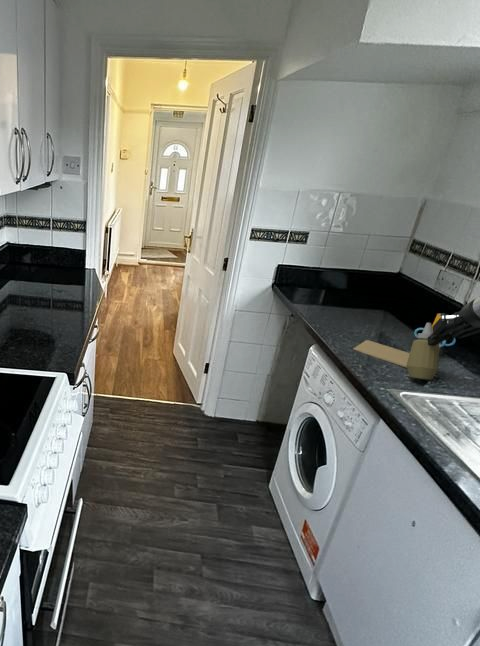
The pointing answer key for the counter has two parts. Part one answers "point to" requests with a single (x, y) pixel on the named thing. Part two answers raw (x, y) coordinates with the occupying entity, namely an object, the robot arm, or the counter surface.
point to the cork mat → (384, 352)
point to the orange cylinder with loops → (432, 332)
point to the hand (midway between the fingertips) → (430, 341)
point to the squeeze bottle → (423, 356)
